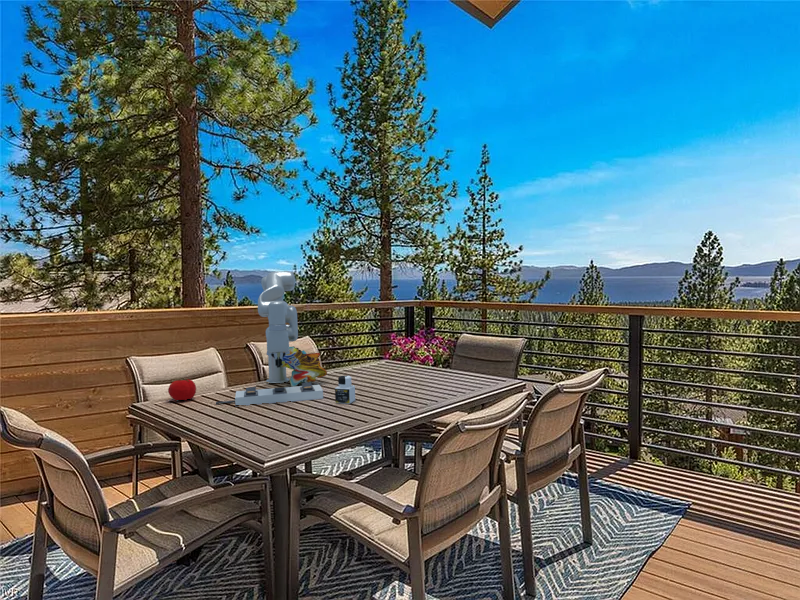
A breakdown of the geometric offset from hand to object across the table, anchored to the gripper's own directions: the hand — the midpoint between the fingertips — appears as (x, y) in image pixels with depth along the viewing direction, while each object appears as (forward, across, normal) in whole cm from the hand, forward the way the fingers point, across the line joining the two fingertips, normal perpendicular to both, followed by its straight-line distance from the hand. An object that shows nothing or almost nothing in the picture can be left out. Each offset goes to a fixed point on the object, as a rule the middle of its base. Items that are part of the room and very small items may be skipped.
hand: (278, 367), depth 245 cm
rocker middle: (+11, 0, -2) cm, 11 cm away
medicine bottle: (+17, -29, +12) cm, 36 cm away
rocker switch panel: (+16, +5, -5) cm, 18 cm away
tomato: (+16, +45, -21) cm, 52 cm away
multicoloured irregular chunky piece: (+16, -14, -35) cm, 41 cm away
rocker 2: (+11, -13, -2) cm, 17 cm away
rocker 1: (+11, +13, -2) cm, 17 cm away
